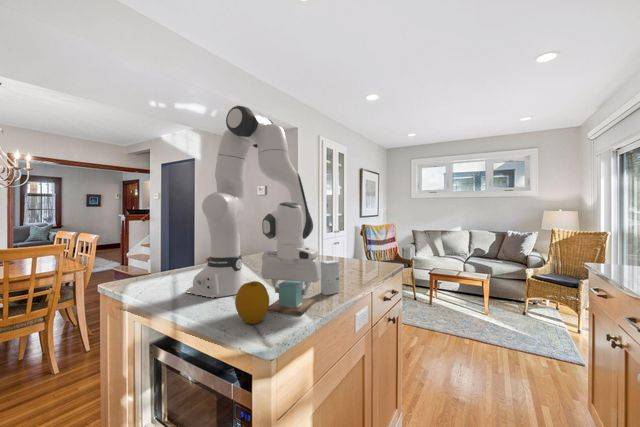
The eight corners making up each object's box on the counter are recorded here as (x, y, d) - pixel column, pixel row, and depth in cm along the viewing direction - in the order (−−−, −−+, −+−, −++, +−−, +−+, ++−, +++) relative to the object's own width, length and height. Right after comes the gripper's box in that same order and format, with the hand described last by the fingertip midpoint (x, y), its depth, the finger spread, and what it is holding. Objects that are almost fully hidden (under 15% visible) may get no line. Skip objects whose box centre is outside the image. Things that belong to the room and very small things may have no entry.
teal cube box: (278, 305, 93) (278, 284, 92) (286, 299, 98) (286, 279, 98) (296, 307, 91) (295, 285, 91) (302, 301, 97) (302, 281, 96)
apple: (245, 314, 89) (245, 276, 89) (275, 316, 87) (274, 277, 86) (228, 327, 79) (228, 284, 79) (261, 329, 77) (260, 286, 77)
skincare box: (326, 295, 107) (326, 263, 106) (320, 292, 110) (319, 261, 110) (339, 292, 110) (339, 261, 110) (332, 290, 114) (332, 259, 114)
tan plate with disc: (266, 311, 91) (266, 298, 90) (282, 300, 102) (282, 288, 102) (301, 315, 87) (301, 301, 87) (314, 303, 98) (314, 290, 98)
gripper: (257, 252, 94) (258, 293, 95) (316, 254, 88) (317, 299, 88) (266, 249, 100) (267, 288, 101) (322, 251, 94) (323, 293, 94)
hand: (291, 293), depth 94 cm, fingers open, 8 cm apart
